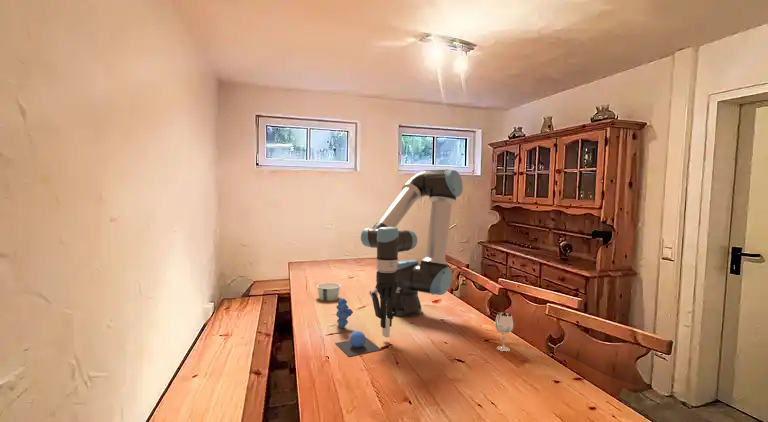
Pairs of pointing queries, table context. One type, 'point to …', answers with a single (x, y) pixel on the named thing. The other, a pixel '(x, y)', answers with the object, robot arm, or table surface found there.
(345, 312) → the grapes
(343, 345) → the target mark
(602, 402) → the table surface
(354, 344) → the ball
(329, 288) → the food container
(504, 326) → the wineglass
